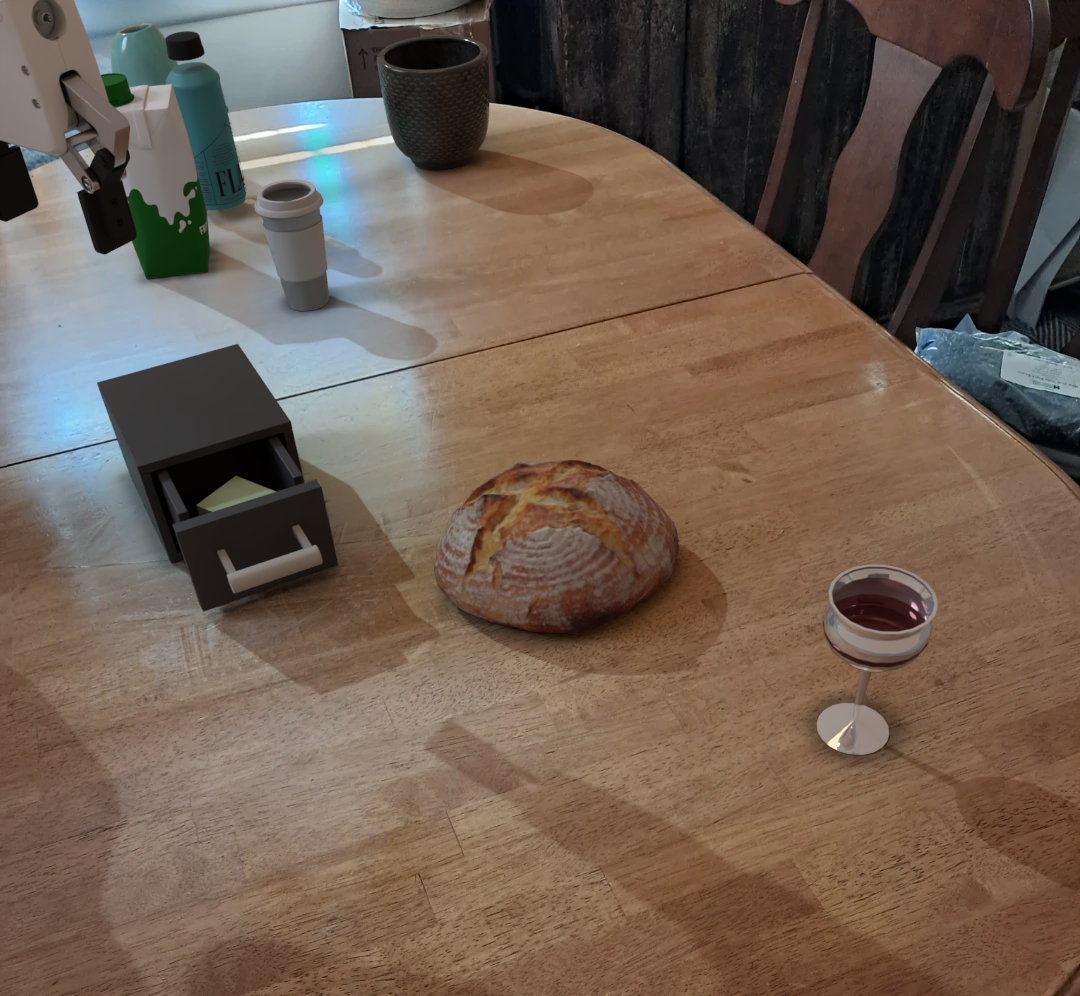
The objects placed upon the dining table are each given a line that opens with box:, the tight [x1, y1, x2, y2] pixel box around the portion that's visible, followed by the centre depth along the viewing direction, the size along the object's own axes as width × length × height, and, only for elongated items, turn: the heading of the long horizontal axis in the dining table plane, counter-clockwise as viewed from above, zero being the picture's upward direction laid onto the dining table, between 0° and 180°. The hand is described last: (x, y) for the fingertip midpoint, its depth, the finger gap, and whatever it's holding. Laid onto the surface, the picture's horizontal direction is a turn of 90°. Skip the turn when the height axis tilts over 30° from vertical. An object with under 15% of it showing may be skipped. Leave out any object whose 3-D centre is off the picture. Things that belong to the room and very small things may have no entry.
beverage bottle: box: [165, 30, 248, 212], centre depth 137 cm, size 6×7×20 cm
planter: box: [376, 34, 490, 172], centre depth 149 cm, size 14×14×13 cm
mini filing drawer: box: [152, 435, 339, 613], centre depth 92 cm, size 18×11×8 cm, turn 27°
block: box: [196, 476, 276, 516], centre depth 93 cm, size 5×5×5 cm
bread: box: [433, 459, 680, 635], centre depth 90 cm, size 16×20×10 cm
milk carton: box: [101, 72, 211, 280], centre depth 128 cm, size 9×9×20 cm
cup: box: [254, 179, 330, 312], centre depth 123 cm, size 7×7×12 cm
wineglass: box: [816, 564, 939, 756], centre depth 76 cm, size 7×7×12 cm
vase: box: [110, 22, 179, 87], centre depth 146 cm, size 12×12×18 cm
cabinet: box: [96, 343, 306, 564], centre depth 99 cm, size 15×13×10 cm
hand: (67, 229), depth 78 cm, fingers open, 9 cm apart
